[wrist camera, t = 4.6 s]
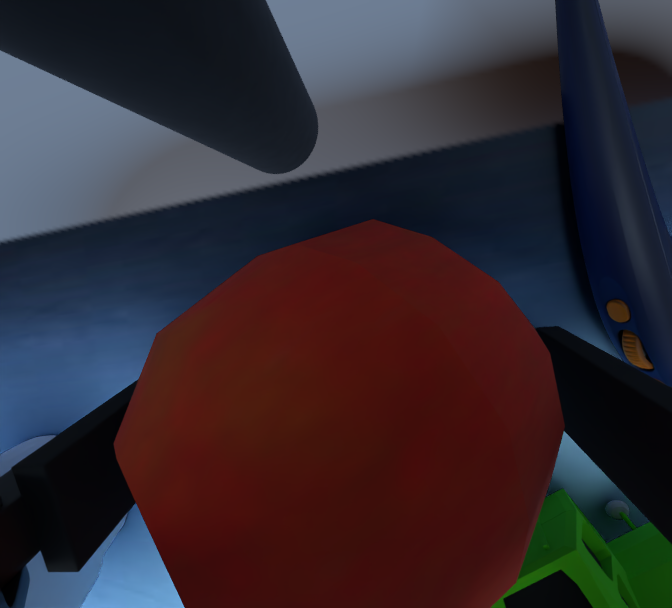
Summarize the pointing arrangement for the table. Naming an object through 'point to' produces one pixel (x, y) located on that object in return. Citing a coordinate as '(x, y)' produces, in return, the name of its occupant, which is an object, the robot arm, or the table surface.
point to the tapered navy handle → (614, 196)
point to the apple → (345, 430)
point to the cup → (45, 587)
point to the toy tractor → (591, 563)
